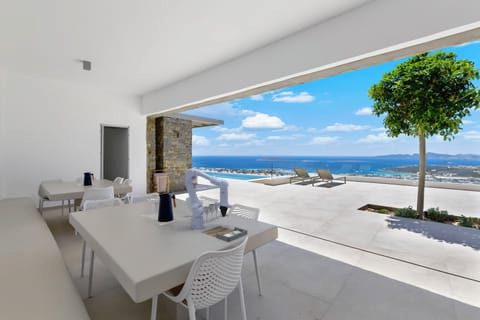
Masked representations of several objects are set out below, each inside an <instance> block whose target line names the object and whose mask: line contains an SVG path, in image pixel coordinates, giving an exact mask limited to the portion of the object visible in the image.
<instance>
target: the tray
mask: <svg viewBox="0 0 480 320" xmlns="http://www.w3.org/2000/svg"><path fill="white" fill-rule="evenodd" d="M233 230H234V231H240V233H238V234H235V235H233V234H232V235H233V236H230V237H227V236H224V235H225V234H224V235H221V234H218V233H217V234H216V237H215V238H217V239H219V240H222V241H225V242H228V243H229V242H232V241H235V240H237V239H239V238H242V237H245V236H247V235H248V230H247V229H245V228H240V227H236V226H234V227H233ZM234 231H233V232H234Z"/></svg>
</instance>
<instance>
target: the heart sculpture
mask: <svg viewBox="0 0 480 320" xmlns="http://www.w3.org/2000/svg"><path fill="white" fill-rule="evenodd" d="M197 197H198V196H197ZM198 200H199V202H200V203H201V205H202V206H203V199H202V197H200V196H199V197H198ZM185 205H186V208H187V209H188V210H189V211H190V212H192V202H191V200H190V197H189V196H187V197H186V198H185ZM191 217H192V216H188V217H187V219H190V220H191Z"/></svg>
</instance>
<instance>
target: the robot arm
mask: <svg viewBox="0 0 480 320" xmlns="http://www.w3.org/2000/svg"><path fill="white" fill-rule="evenodd" d="M196 177H200V178H202V179H205V180H207V181H209V182H210V184H212V185H214V186H215V187H217V188H219V201H218V202H215V203H216V205H218V206H220V207H219V208H218V210H220V215H221V217H223V218H225V216H226V215H227V212H228V210H229V209H233V204H230V203H229V191H228V189H229V182H228V181H227V180H226V179H225V180H224V178H223V179H222V178H219V177H218V176H217V175H213V176H211V175H210V174H208V173H206V172H204V171H203V170H201V169H198V168H195V167H192V168H188V169H187V170H186V171H185V172H184V179H183V181H184V182H183V183H184V185H185V188H186V191H187V194H188V197H190V200H191V202H192V213H191V214H192V216H190V217H191V219H190V226H189V229H192V230H195V229H198V230H199V229H203V228H204V214H205V213H204V207H205V206H203V204H202V205H201V203H200V202H199V200H198V195H197V192H196V189H195V186H194V184H193V181H194V179H195V178H196ZM219 202H220V203H219Z"/></svg>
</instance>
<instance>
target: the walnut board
mask: <svg viewBox="0 0 480 320" xmlns="http://www.w3.org/2000/svg"><path fill="white" fill-rule="evenodd" d="M232 232H234V229H232V228H227V227H225V226H221V225H218V226H216V227H213V228H209V229H207V230H203V231H201V233H202V234H205V235H208V236H210V237H212V238H213V237H214V238H216V234H217V233H218V234H221V235H226V234H230V233H232Z"/></svg>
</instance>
